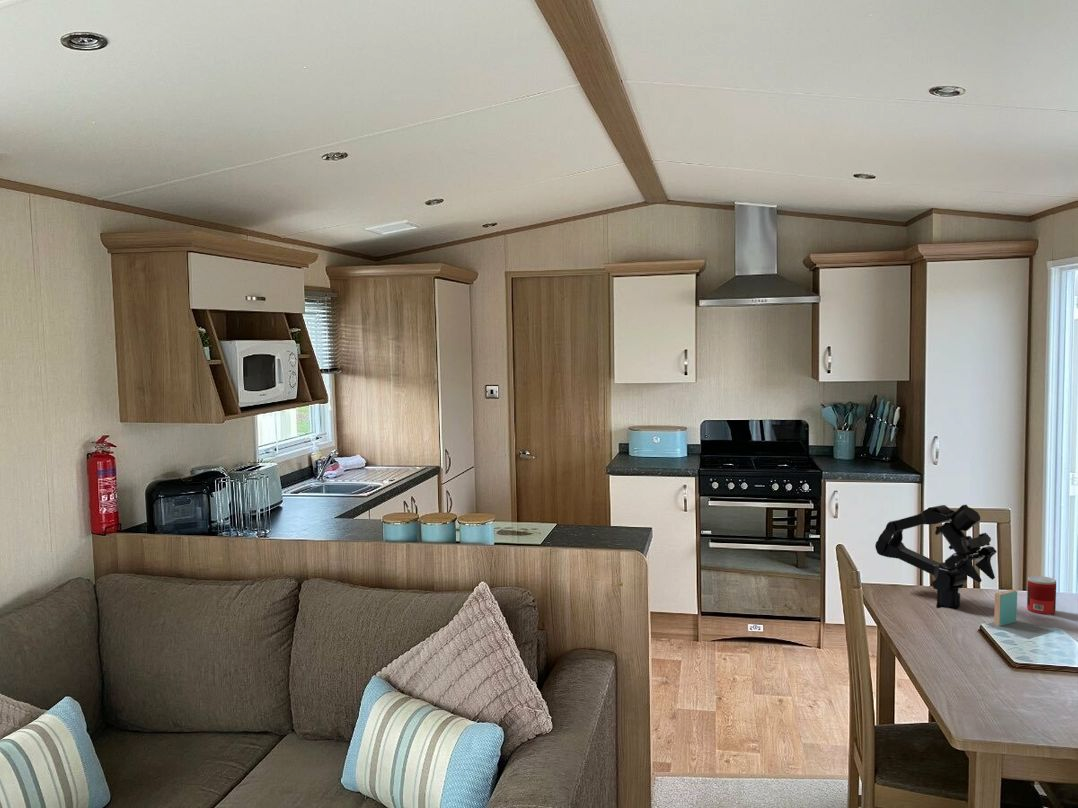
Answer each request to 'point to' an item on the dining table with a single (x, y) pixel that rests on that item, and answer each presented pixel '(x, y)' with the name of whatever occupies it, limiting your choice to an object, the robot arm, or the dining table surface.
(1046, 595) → the canned food
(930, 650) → the dining table surface
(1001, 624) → the tile
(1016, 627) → the mat
